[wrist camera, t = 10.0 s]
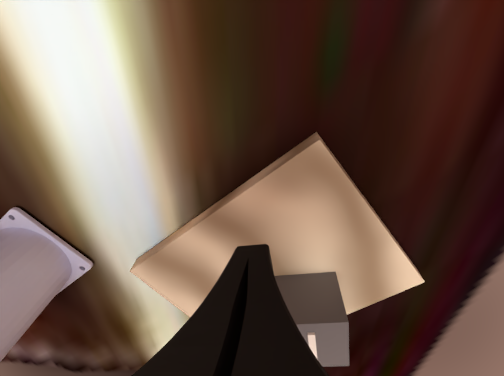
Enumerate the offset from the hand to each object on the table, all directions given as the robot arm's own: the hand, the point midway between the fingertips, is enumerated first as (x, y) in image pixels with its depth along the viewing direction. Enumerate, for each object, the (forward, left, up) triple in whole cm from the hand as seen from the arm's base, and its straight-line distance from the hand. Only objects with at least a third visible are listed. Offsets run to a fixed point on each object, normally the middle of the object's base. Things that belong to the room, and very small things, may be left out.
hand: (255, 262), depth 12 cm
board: (-5, -8, -9) cm, 13 cm away
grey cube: (-4, -11, -8) cm, 14 cm away
